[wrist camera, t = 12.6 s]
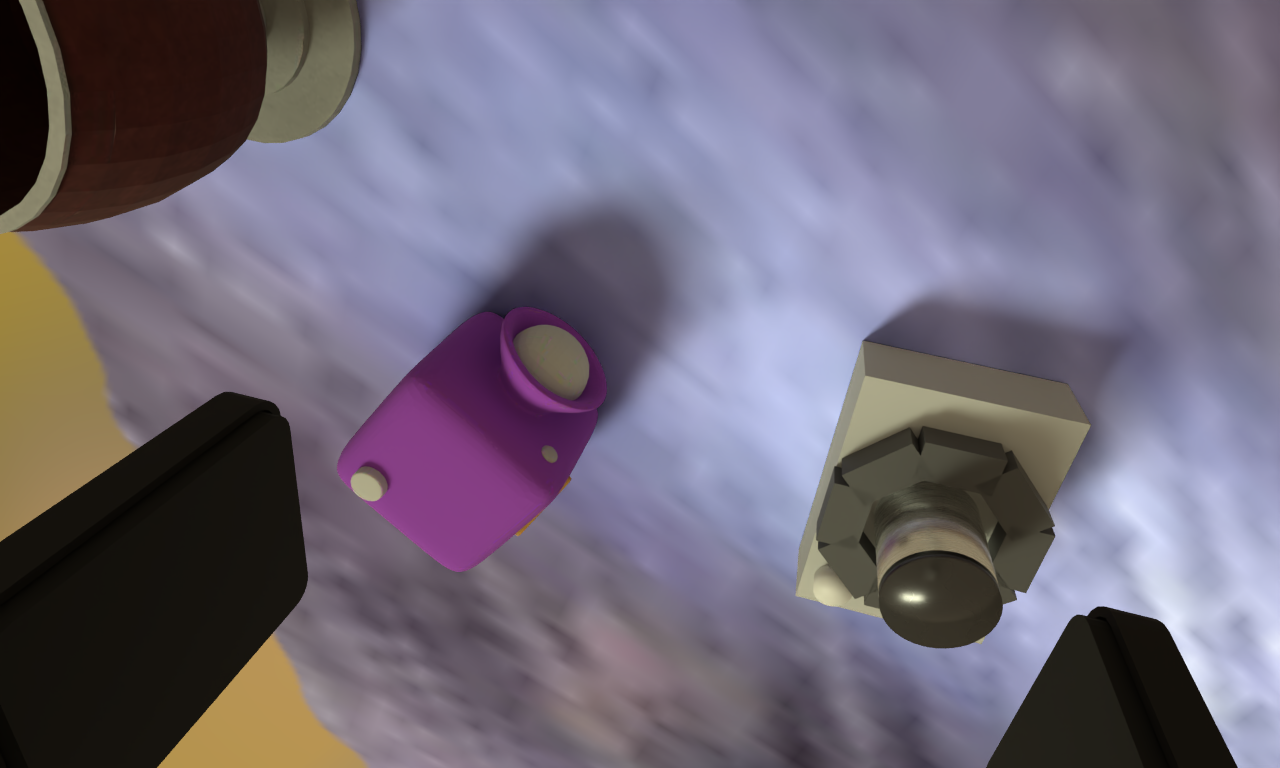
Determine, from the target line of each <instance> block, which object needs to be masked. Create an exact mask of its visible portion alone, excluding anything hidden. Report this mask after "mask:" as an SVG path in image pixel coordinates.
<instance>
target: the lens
mask: <svg viewBox="0 0 1280 768" xmlns="http://www.w3.org/2000/svg"><path fill="white" fill-rule="evenodd" d="M874 532H875V548H876V564H877V580H878V596H879V608H880V612H881V615H882V617H883V619H884V621H885V622H886V624H887V625H888V626H889V627H890V628H891V629H892V630H893V631H894V632H895V633H896V634H898V635H899V636H901V637H902V638H904V639H906V640H908V641H910V642H913V643H915V644H918V645H921V646H926V647H932V648H955V647H961V646H965V645H968V644H971V643H974V642H976V641H978V640H980V639H982V638H983V637H985V636H986V635H987V634H989V633H990V632H991V631H992V630H993V629H994V627H995V626H996V625H997V623H998V622H999V620H1000V617H1001V614H1002V610H1003V602H1002V597H1001V593H1000V589H999V585H998V582H997V578H996V574H995V570H994V566H993V563H992V559H991V555H990V551H989V547H988V543H987V540H986V536H985V532H984V528H983V524H982V521H981V517H980V513H979V510H978V507H977V505H976V503H975V501H974V500H973V499H972V498H971V496H970V495H969V494H968V493H966V492H965V491H964V490H962V489H958V488H953V487H949V486H945V485H941V484H936V483H932V482H928V481H921V482H919V483H917V484H914V485H912V486H909V487H907V488H905V489H902V490H900V491H898V492H895V493H893V494H891V495H888V496H886V497H883V498H881V499H880V501H879V502H878V504H877V506H876V509H875V512H874Z"/></svg>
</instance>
